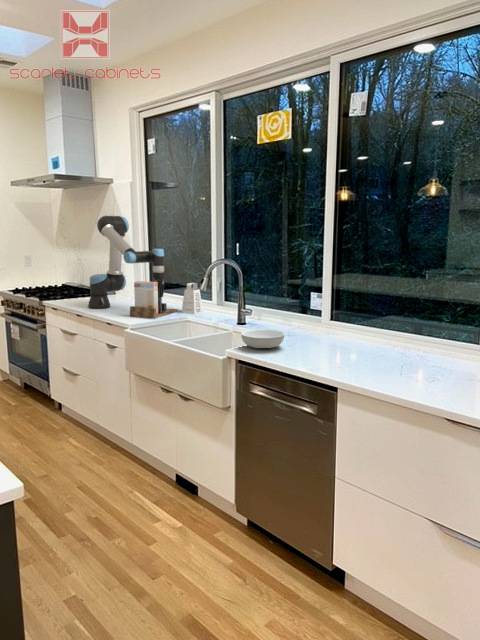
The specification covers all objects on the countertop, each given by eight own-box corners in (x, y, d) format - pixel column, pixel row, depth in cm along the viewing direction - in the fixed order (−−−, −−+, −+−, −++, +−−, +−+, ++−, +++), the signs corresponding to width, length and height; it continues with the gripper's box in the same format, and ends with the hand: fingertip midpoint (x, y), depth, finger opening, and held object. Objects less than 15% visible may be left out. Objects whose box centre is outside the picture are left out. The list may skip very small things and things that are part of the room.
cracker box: (158, 313, 307) (158, 281, 303) (154, 315, 301) (153, 282, 297) (139, 312, 310) (138, 280, 306) (134, 314, 304) (133, 281, 301)
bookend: (141, 311, 312) (141, 296, 311) (149, 309, 322) (149, 294, 320) (160, 313, 308) (160, 297, 306) (168, 310, 317) (167, 296, 315)
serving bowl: (269, 340, 242) (269, 327, 241) (292, 349, 224) (293, 335, 223) (233, 344, 232) (233, 330, 231) (254, 354, 214) (254, 339, 213)
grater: (202, 312, 324) (202, 283, 321) (194, 314, 315) (194, 284, 311) (190, 310, 329) (190, 282, 325) (181, 312, 320) (181, 283, 316)
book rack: (130, 316, 304) (129, 306, 302) (155, 309, 332) (154, 300, 331) (154, 318, 297) (154, 308, 296) (177, 311, 326) (177, 302, 325)
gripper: (158, 273, 308) (159, 308, 312) (168, 271, 320) (168, 305, 324) (148, 272, 310) (149, 307, 315) (158, 271, 322) (159, 305, 327)
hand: (159, 306), depth 320 cm, fingers closed
